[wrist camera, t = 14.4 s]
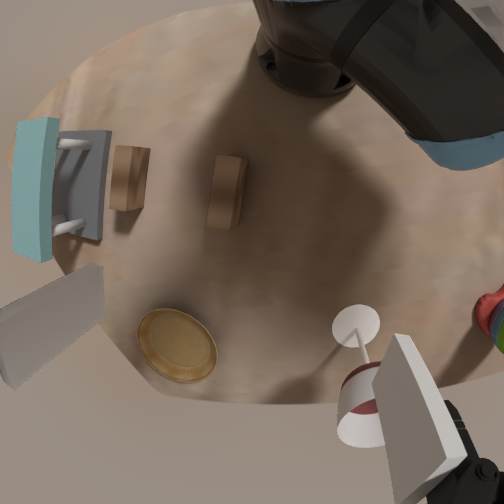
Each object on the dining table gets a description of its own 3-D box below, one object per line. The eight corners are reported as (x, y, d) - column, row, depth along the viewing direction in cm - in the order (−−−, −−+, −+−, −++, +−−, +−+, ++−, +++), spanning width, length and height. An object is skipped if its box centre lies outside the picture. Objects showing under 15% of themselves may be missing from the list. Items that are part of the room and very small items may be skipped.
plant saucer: (211, 299, 44) (206, 306, 42) (229, 375, 47) (226, 385, 45) (133, 303, 47) (125, 309, 45) (156, 372, 50) (150, 380, 48)
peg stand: (64, 132, 41) (22, 129, 31) (112, 131, 40) (68, 125, 30) (57, 227, 46) (17, 239, 36) (102, 238, 45) (60, 254, 35)
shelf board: (52, 258, 35) (41, 263, 33) (23, 247, 36) (13, 251, 34) (60, 118, 30) (47, 117, 27) (29, 122, 31) (18, 121, 28)
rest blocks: (134, 147, 40) (115, 145, 35) (248, 159, 38) (241, 157, 33) (127, 204, 42) (109, 208, 38) (238, 224, 40) (229, 231, 35)
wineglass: (384, 342, 41) (419, 435, 22) (331, 353, 43) (339, 453, 24) (381, 297, 39) (427, 383, 20) (324, 309, 41) (334, 405, 22)
